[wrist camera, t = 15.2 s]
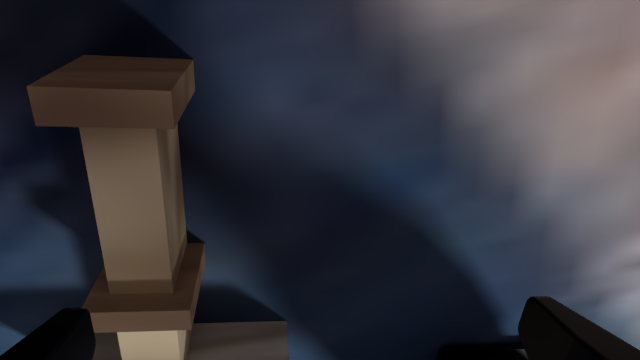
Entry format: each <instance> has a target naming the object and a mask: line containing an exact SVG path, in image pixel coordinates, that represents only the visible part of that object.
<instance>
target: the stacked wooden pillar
mask: <svg viewBox="0 0 640 360" xmlns="http://www.w3.org/2000/svg"><path fill="white" fill-rule="evenodd" d="M26 87H27V91H28V95H29V100H30V104H31V108H32V113H33V117H34V121H35V126H54V127H79V131H80V136H81V141H82V147H83V152H84V158H85V163H86V168H87V174H88V179H89V185H90V190H91V195H92V201H93V206H94V211H95V217H96V222H97V228H98V233H99V238H100V244H101V249H102V255H103V260H104V266H103V268H102V270H101V272H100V274H99V276H98V278H97V279H96V281H95V283H94V285H93V287H92V289H91V291H90V293H89V295H88V297H87V298H86V300H85V302H84V304H83V306H82V307H84V308H87V309H88V310H89V312H90V315H91V320H92V324H93V329H94V334H95V338H96V347H95V352H94V356H93V360H289V353H288V333H287V321H263V322H227V323H194V316H195V311H196V306H197V301H198V296H199V291H200V286H201V281H202V276H203V272H204V267H205V262H206V255H205V243H187V234H186V222H185V210H184V198H183V185H182V173H181V161H180V149H179V137H178V125H177V123H178V121H179V120H180V118H181V116H182V114H183V112H184V110H185V108H186V106H187V105H188V103H189V101H190V99H191V97H192V95H193V93H194V92H195V76H194V60H193V59H172V58H148V57H124V56H100V55H83V56H81V57H79V58H77V59H75V60H74V61H72V62H70V63H68V64H66V65H64V66H63V67H61V68H59V69H57V70H55V71H53V72H52V73H50V74H48V75H46V76H44V77H42V78H41V79H39V80H37V81H35V82H33V83H31V84H30V85H28V86H26Z"/></svg>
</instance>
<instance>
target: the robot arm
mask: <svg viewBox="0 0 640 360" xmlns="http://www.w3.org/2000/svg"><path fill="white" fill-rule="evenodd" d="M518 332H519V337H520V339H521V342H522V344H495V345H469V346H447V347H444V348H442V349H441V350H440V351H439V353H438V356H437V360H640V350H638V349H637V348H635V347H633V346H632V345H630V344H628V343H627V342H625V341H623V340H622V339H620V338H618V337H617V336H615V335H613V334H611V333H610V332H608V331H606V330H605V329H603V328H601V327H600V326H598V325H596V324H595V323H593V322H591V321H590V320H588V319H586V318H585V317H583V316H581V315H580V314H578V313H576V312H574V311H573V310H571V309H569V308H568V307H566V306H564V305H563V304H561V303H559V302H558V301H556V300H554V299H553V298H551V297H548V296H533V297H530V298H529V299H528V300H527V302H526V304H525V307H524V310H523V313H522V316H521V319H520V322H519V325H518ZM95 347H96V338H95V334H94V329H93V324H92V320H91V315H90V312H89V310H88V309H87V308H84V307H77V308H64V309H62V310H61V311H59V312H58V313H57V314H55V315H54V316H53V317H51V318H50V319H49V320H47V321H46V322H45V323H43V324H42V325H41V326H39V327H38V328H37V329H35V330H34V331H33V332H31V333H30V334H29V335H27V336H26V337H25V338H23V339H22V340H21V341H20V342H18V343H17V344H16V345H14V346H13V347H12V348H10V349H9V350H8V351H6V352H5V353H4V354H2V355H1V356H0V360H93V356H94V352H95Z"/></svg>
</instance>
